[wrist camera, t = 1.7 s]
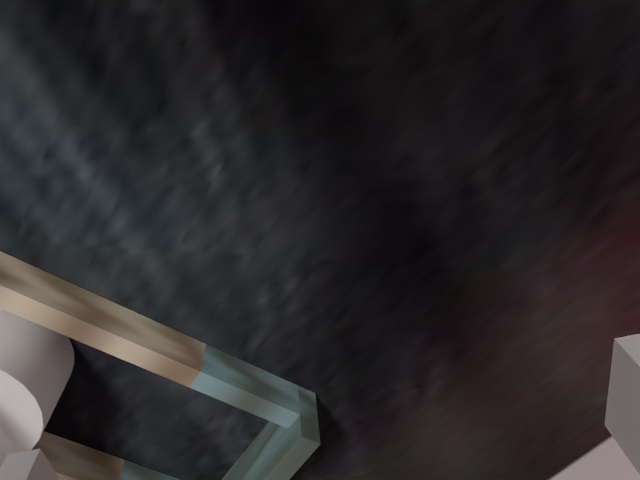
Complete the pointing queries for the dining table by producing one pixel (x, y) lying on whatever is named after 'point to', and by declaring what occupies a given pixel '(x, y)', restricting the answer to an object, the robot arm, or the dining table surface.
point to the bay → (170, 362)
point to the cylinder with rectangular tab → (29, 380)
